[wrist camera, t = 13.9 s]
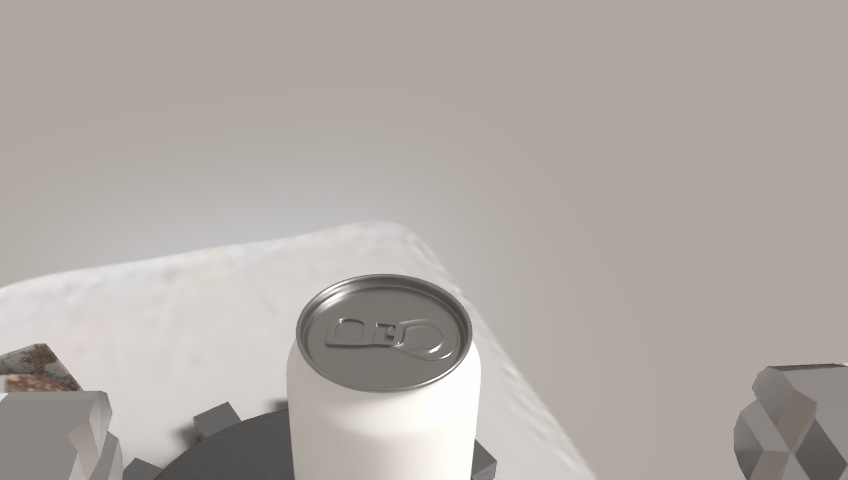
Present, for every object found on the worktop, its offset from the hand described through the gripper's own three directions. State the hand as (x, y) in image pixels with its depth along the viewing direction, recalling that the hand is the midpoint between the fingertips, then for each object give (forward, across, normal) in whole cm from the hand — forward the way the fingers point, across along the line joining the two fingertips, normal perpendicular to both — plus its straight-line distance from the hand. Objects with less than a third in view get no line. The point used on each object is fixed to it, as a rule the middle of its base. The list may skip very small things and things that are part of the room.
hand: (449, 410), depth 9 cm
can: (+12, -1, +21) cm, 24 cm away
